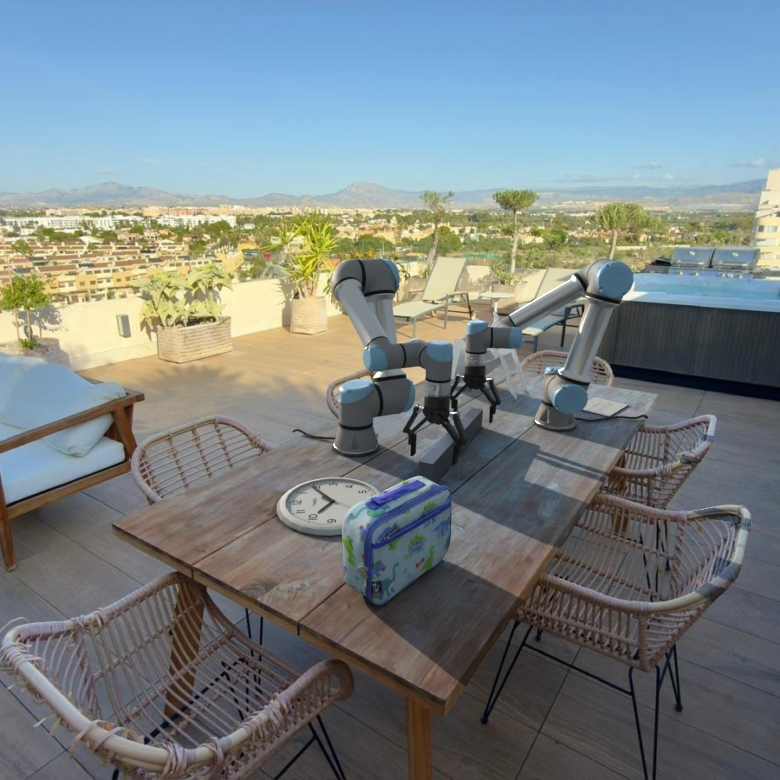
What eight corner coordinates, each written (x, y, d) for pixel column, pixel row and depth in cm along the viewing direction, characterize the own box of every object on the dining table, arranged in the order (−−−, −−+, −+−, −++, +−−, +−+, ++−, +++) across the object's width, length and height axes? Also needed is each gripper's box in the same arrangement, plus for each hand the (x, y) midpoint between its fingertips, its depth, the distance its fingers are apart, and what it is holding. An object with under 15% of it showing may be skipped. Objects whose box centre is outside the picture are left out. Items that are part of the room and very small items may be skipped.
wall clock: (392, 527, 129) (268, 531, 127) (391, 533, 130) (269, 537, 127) (383, 473, 158) (282, 475, 155) (383, 478, 158) (282, 480, 156)
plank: (470, 425, 203) (471, 407, 201) (481, 427, 201) (483, 409, 199) (417, 483, 156) (418, 461, 154) (432, 486, 154) (433, 464, 152)
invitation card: (608, 416, 214) (573, 407, 224) (608, 416, 214) (573, 408, 224) (628, 404, 229) (594, 396, 238) (628, 405, 229) (594, 397, 238)
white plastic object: (461, 429, 252) (437, 405, 227) (444, 352, 274) (420, 323, 250) (535, 404, 240) (518, 377, 215) (510, 326, 262) (492, 293, 237)
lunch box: (371, 618, 102) (371, 524, 95) (336, 591, 109) (334, 502, 103) (455, 562, 119) (460, 479, 113) (420, 542, 126) (423, 463, 120)
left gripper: (393, 390, 155) (391, 455, 162) (475, 404, 145) (469, 473, 152) (403, 383, 161) (401, 446, 168) (482, 396, 152) (476, 462, 158)
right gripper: (439, 362, 189) (437, 417, 196) (507, 370, 179) (503, 427, 186) (445, 358, 196) (444, 411, 202) (512, 365, 186) (508, 421, 192)
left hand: (433, 459), depth 160 cm, fingers open, 13 cm apart
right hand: (472, 419), depth 194 cm, fingers open, 13 cm apart
